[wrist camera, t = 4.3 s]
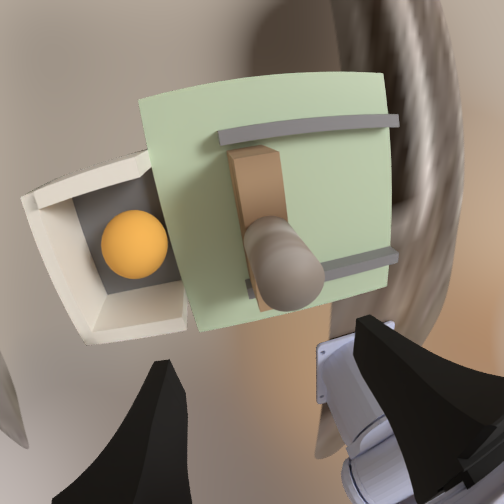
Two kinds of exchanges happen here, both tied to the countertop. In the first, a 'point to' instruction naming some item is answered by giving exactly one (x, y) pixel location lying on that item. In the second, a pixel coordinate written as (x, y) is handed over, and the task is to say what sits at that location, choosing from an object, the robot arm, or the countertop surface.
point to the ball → (134, 244)
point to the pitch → (224, 202)
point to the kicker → (271, 233)
